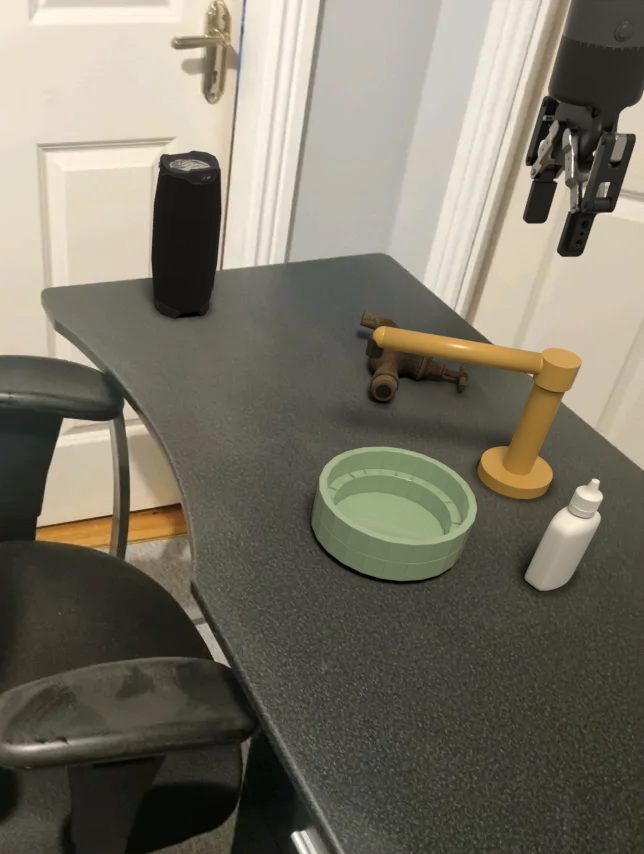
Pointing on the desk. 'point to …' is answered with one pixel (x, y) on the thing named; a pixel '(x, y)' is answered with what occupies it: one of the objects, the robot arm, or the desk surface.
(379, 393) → the faucet
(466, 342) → the spout
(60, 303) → the desk surface
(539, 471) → the tap base
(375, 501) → the basin
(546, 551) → the eye dropper bottle
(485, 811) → the desk surface
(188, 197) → the portable speaker
